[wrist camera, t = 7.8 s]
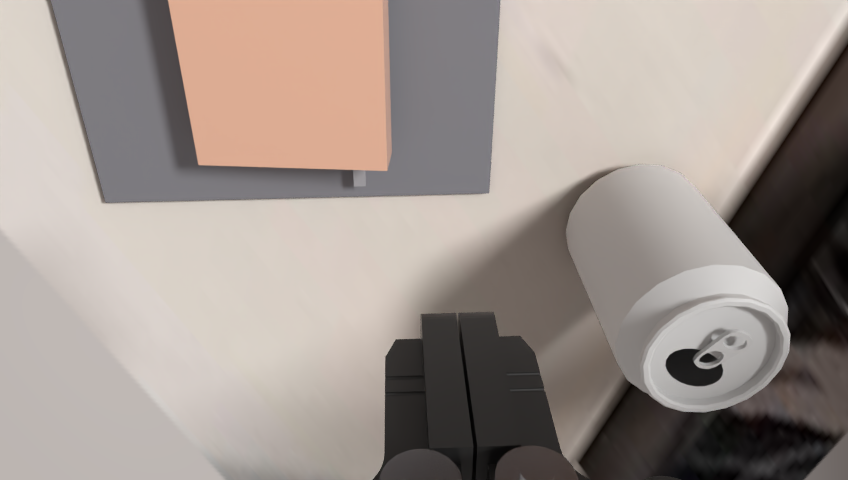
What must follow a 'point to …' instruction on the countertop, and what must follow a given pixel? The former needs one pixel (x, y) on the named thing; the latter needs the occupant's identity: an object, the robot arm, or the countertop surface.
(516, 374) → the robot arm
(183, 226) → the countertop surface
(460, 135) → the mat
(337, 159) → the tile
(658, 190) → the can
